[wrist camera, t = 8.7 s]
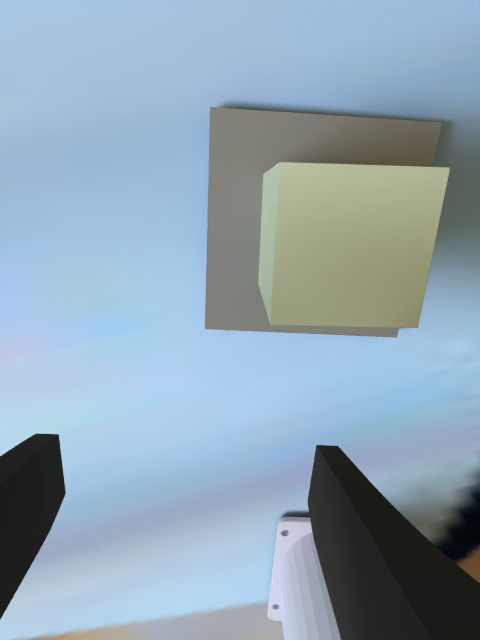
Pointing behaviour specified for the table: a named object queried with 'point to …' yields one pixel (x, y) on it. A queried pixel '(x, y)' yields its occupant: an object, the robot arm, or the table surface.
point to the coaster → (247, 186)
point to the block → (348, 243)
